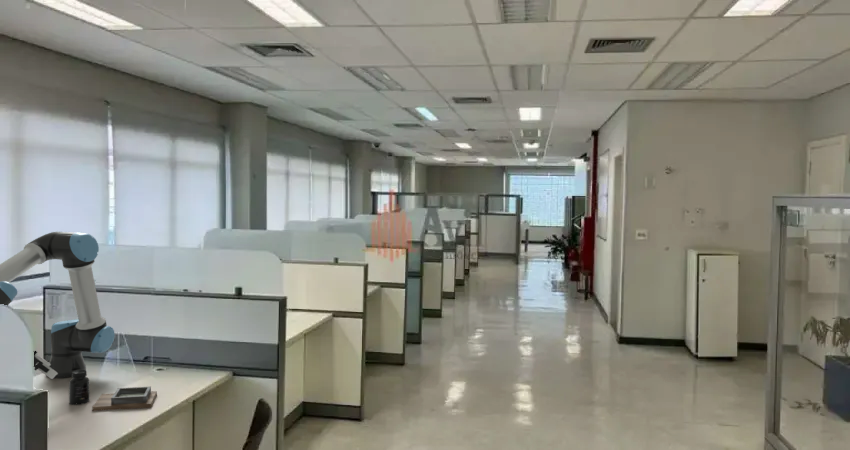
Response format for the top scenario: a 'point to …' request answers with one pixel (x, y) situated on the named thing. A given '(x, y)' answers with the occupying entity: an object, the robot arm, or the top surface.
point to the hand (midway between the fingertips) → (51, 371)
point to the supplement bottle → (79, 388)
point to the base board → (126, 399)
